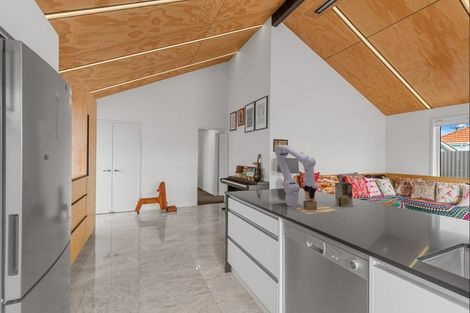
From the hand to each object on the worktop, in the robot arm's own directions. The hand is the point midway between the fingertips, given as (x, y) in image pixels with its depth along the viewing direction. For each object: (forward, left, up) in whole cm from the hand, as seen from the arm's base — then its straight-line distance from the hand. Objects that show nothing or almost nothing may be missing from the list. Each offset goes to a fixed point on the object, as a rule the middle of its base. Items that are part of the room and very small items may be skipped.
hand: (309, 198), depth 156 cm
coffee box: (-2, +25, -8) cm, 26 cm away
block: (0, 0, -1) cm, 1 cm away
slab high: (0, 0, -4) cm, 4 cm away
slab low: (0, 0, -7) cm, 7 cm away
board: (+2, +3, -8) cm, 9 cm away
